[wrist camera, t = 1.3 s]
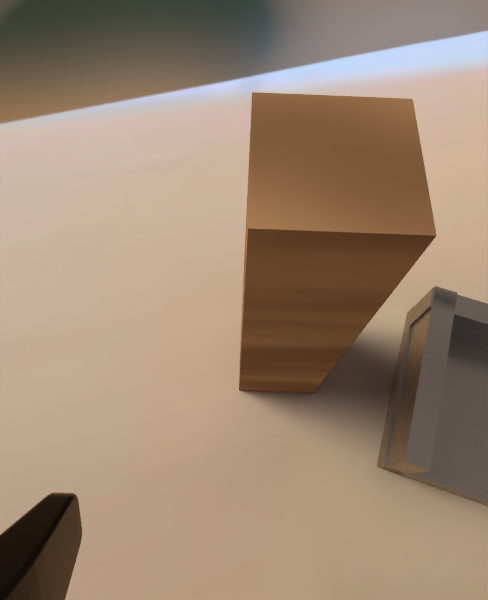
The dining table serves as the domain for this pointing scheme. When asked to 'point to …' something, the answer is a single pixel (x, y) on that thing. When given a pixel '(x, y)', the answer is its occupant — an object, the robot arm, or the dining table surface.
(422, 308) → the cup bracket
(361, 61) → the dining table surface
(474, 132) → the dining table surface
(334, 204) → the tall brown wooden block
